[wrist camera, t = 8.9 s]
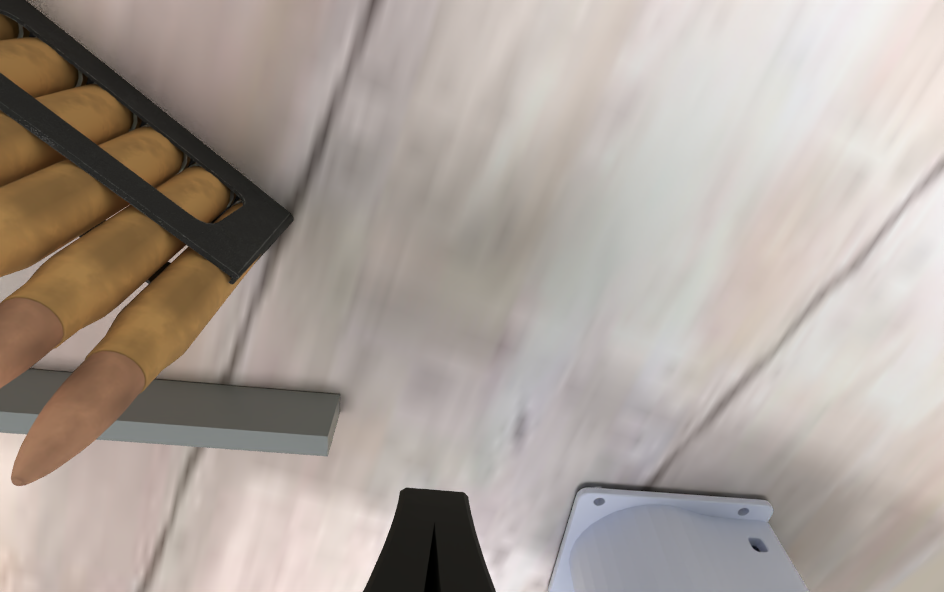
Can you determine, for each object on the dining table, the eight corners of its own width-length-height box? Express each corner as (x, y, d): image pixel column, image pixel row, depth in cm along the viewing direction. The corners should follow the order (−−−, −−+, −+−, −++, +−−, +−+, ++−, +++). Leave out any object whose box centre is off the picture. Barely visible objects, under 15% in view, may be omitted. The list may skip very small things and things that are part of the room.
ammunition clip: (296, 217, 19) (100, 482, 9) (265, 251, 20) (48, 538, 9) (-15, -34, 16) (-992, -88, 5) (-41, 18, 16) (-962, 65, 6)
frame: (349, -102, 15) (331, -119, 13) (339, 413, 23) (327, 456, 21) (-348, -211, 14) (-503, -251, 11) (-93, 378, 22) (-153, 421, 20)
